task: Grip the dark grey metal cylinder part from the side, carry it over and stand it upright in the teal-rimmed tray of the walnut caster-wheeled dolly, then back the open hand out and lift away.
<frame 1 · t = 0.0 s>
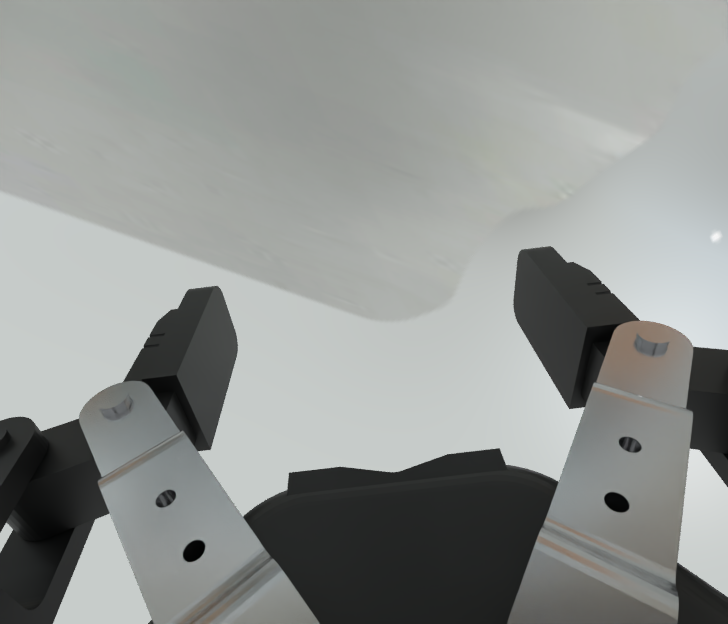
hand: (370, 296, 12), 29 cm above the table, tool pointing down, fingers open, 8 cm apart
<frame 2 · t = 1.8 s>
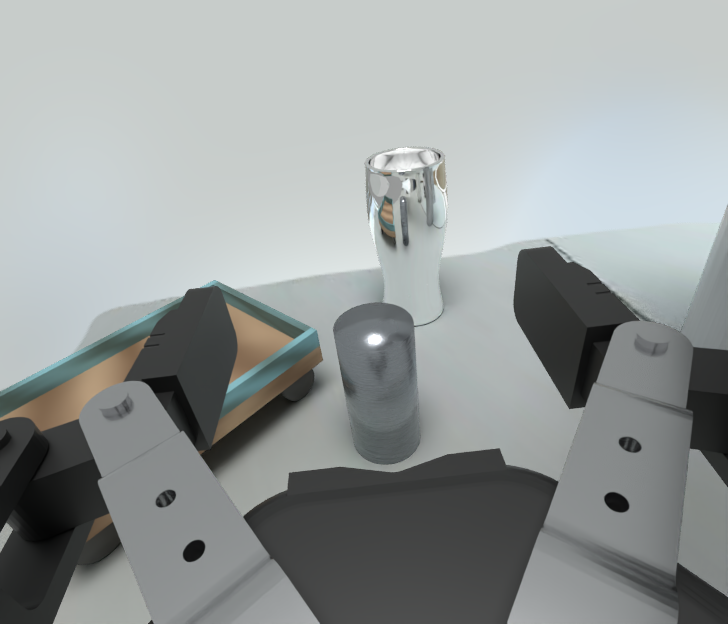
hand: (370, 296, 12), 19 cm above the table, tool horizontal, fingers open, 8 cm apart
metal part: (386, 436, 32), on the table
dolly: (164, 397, 34), point 3 cm above the table, slide at 0.0 cm
beer glass: (412, 310, 45), on the table
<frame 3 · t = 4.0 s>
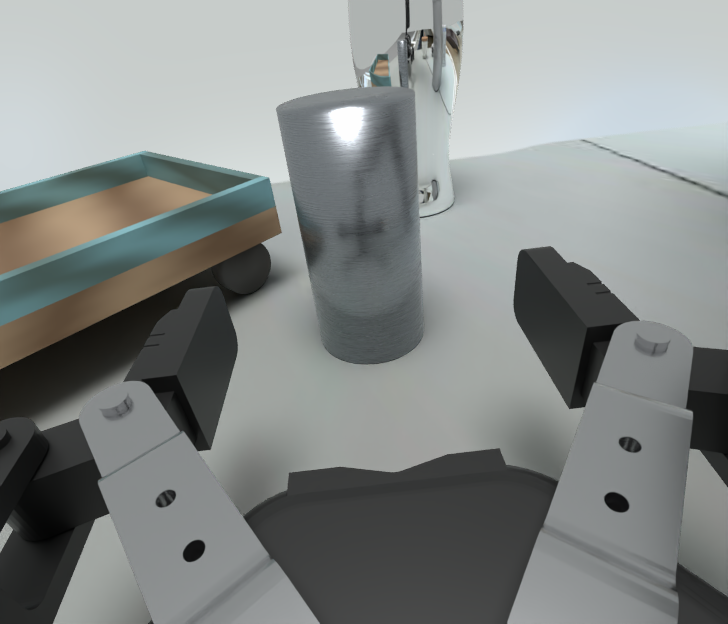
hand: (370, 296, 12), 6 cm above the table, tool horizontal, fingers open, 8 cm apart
metal part: (372, 330, 21), on the table
dolly: (40, 277, 22), point 3 cm above the table, slide at 0.0 cm
beer glass: (413, 205, 34), on the table
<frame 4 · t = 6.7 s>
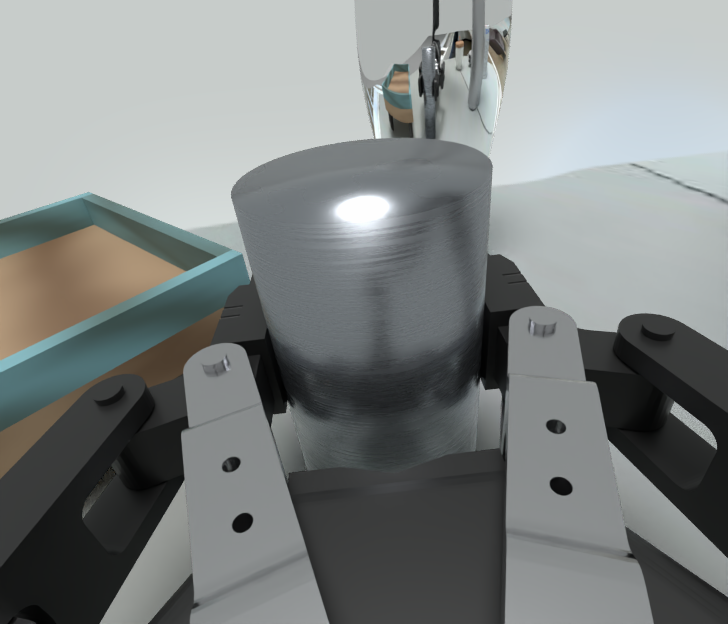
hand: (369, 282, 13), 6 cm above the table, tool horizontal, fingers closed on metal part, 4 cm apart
metal part: (394, 490, 14), on the table, touching gripper
beer glass: (435, 255, 27), on the table
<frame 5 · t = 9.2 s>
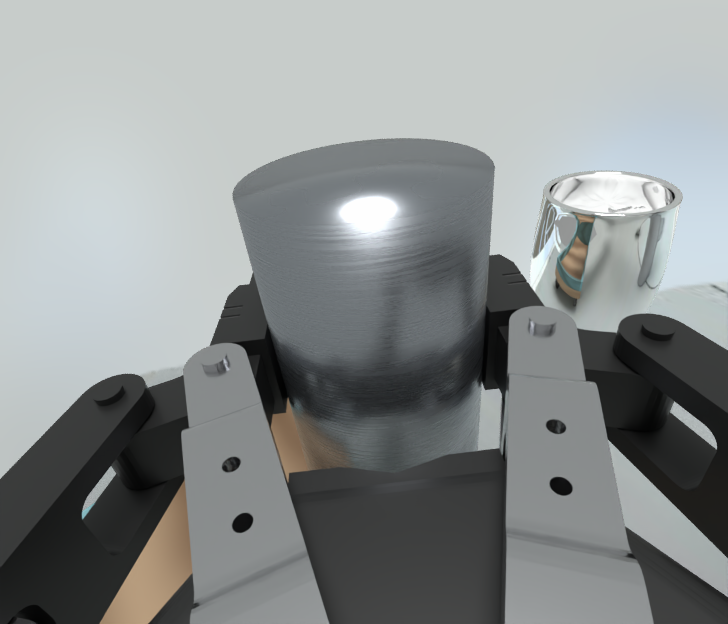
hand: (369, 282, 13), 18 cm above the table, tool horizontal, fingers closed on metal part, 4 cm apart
metal part: (395, 491, 14), point 12 cm above the table, touching gripper
dolly: (246, 576, 21), point 3 cm above the table, slide at 0.0 cm
beer glass: (566, 394, 32), on the table
when the fingers open (12 cm above the table, at t = 11.7 s): metal part drops 1 cm, resting on dolly.
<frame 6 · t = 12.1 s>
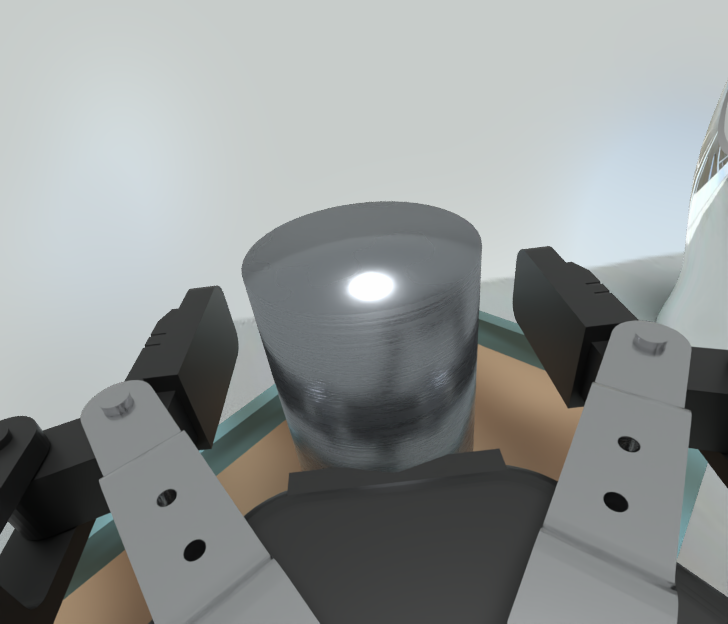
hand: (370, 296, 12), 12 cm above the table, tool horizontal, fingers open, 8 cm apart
metal part: (395, 519, 15), point 5 cm above the table, touching dolly
dolly: (399, 540, 16), point 3 cm above the table, slide at 0.0 cm, touching metal part
beer glass: (712, 337, 27), on the table
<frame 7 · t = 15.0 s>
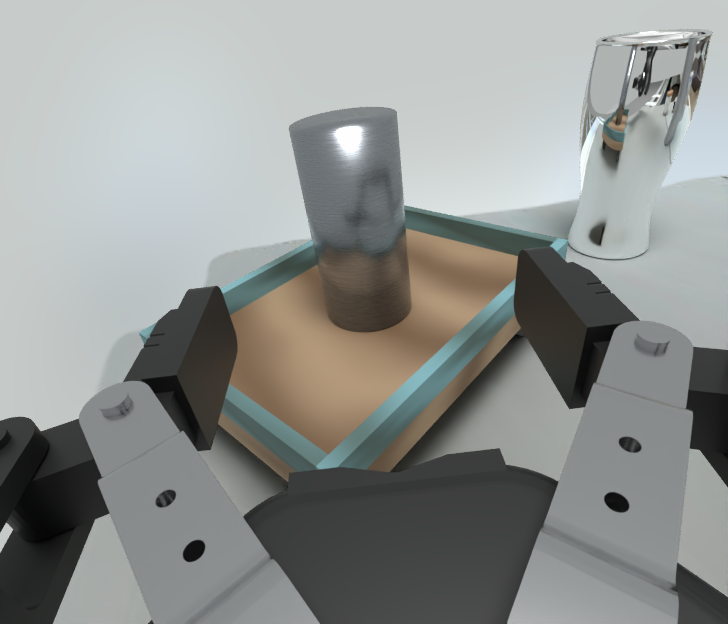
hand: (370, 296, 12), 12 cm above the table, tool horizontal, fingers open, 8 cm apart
metal part: (369, 306, 25), point 5 cm above the table, touching dolly
dolly: (372, 326, 26), point 3 cm above the table, slide at 0.0 cm, touching metal part
beer glass: (605, 245, 38), on the table
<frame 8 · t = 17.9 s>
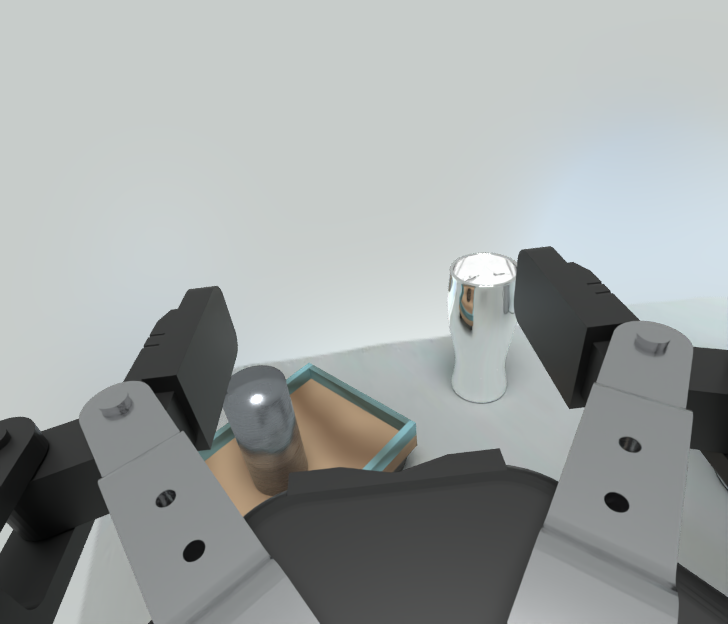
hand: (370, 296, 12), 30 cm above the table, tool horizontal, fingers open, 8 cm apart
metal part: (280, 470, 38), point 5 cm above the table, touching dolly
dolly: (285, 480, 39), point 3 cm above the table, slide at 0.0 cm, touching metal part
beer glass: (478, 385, 51), on the table
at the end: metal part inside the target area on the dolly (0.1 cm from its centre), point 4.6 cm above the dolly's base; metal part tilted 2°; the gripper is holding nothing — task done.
